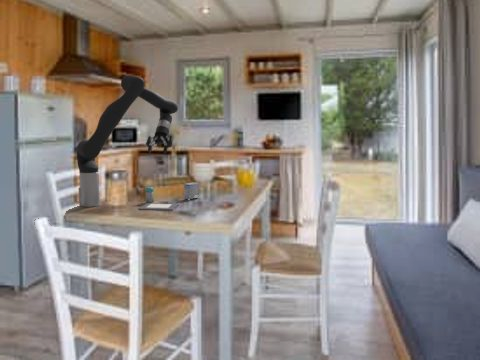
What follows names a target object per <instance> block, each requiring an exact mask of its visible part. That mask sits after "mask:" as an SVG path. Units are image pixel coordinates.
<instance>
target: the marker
mask: <svg viewBox="0 0 480 360" xmlns="http://www.w3.org/2000/svg"><path fill="white" fill-rule="evenodd" d="M153 202H154V203H155V201H154V187H153V186H147V187H145V204H146V203H153ZM154 203H153V204H154Z"/></svg>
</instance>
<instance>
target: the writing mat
mask: <svg viewBox="0 0 480 360" xmlns="http://www.w3.org/2000/svg"><path fill="white" fill-rule="evenodd" d="M178 207H179V204H178V203H146V202H145V204H143V205H142V206H140V207H139V208H138V210H140V211H141V210H142V211H143V210H144V211H147V210H148V211H174V210H175V209H176V208H178ZM174 208H175V209H174ZM173 209H174V210H173Z"/></svg>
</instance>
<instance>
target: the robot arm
mask: <svg viewBox="0 0 480 360" xmlns="http://www.w3.org/2000/svg"><path fill="white" fill-rule="evenodd" d="M120 86H121V88H122V90H123V91H124V93H123V94H122V95H121V96H120V97H119V98H117V99H116V100H114V101H113V102H111V103H110V104H108V106H107V107H106V108H105V109H104V110H103V112H102V114H101V115H100V117H99V119H98V122H97V123H98V124H97V126H96V129H95V131H94V133H93V134H92V135H91V136H90V138H89V139H87V140H82V141H80V142H79V143H78V144H77V146H76V160H77V161H76V162H77V168H78V171H79V187H78V201H79V203H78V206H79V207H84V208H85V207H86V208H92V207H98V206H100V204H101V203H100V201H101V199H100V179H99V178H100V177H99V174H100V173H99V166H98V165H97V162H96V158H97V157H98V156H99V155H100V153H101V151H102V149H103V148H104V145H105V144H106V142H107V140H108V139H109V137H110V136H111V135H112V133H113V132H114V130H115V129H116V127H117V126H118V125H119V123H120V122H121V121H122V119H123V117H124V116H125V114H126V113H127V111H128V110H129V108H130V107H131V106H132V105H133V103H134V102H135V101H136V99H137V98H138V97H139V98H140V99H142V100H144V101H146V102H147V103H148V104H150V105H151V106H153V107H155V108H157V109H159V119H158V123H156V124H157V125H156V127H155V128H156V129H155V131H154V136H153V137H152V136H150V135H149V136H148V137H147V140H146V143H145V145H146V147H147V152H148V153H149V154H151V153H152V149H153V147H155V146H157V145H159V146H160V145H164V147H163V150H162V151H163V154H166V153H167V152H168V148H172V146H173V143H174V142H173V140H174V139H173V137H172V135H171V136H169V134H170V132H171V131H170V130H171V126H172V121H173V117H172V114H176V113H177V112H178V108H179V105H178V104H177V103H176V101H174V100H171V99H170V98H166V97H163V96H162V95H161V94H159V93H157V92H156V91H153V90H151V89H148V88H147V87H145V86H146V85H145V80H144V79H143V78H142V77H140V76H136V75H131V74H129V75H127V74H126V75H124V76H123V77H122V78H121V81H120ZM167 141H168V143H167Z"/></svg>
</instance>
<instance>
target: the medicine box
mask: <svg viewBox="0 0 480 360" xmlns="http://www.w3.org/2000/svg"><path fill="white" fill-rule="evenodd" d="M195 195H199V196H200V183H198V182H189V183H184V184H183V199H184V200H185V199H192V198H193V197H194V196H195Z"/></svg>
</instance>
